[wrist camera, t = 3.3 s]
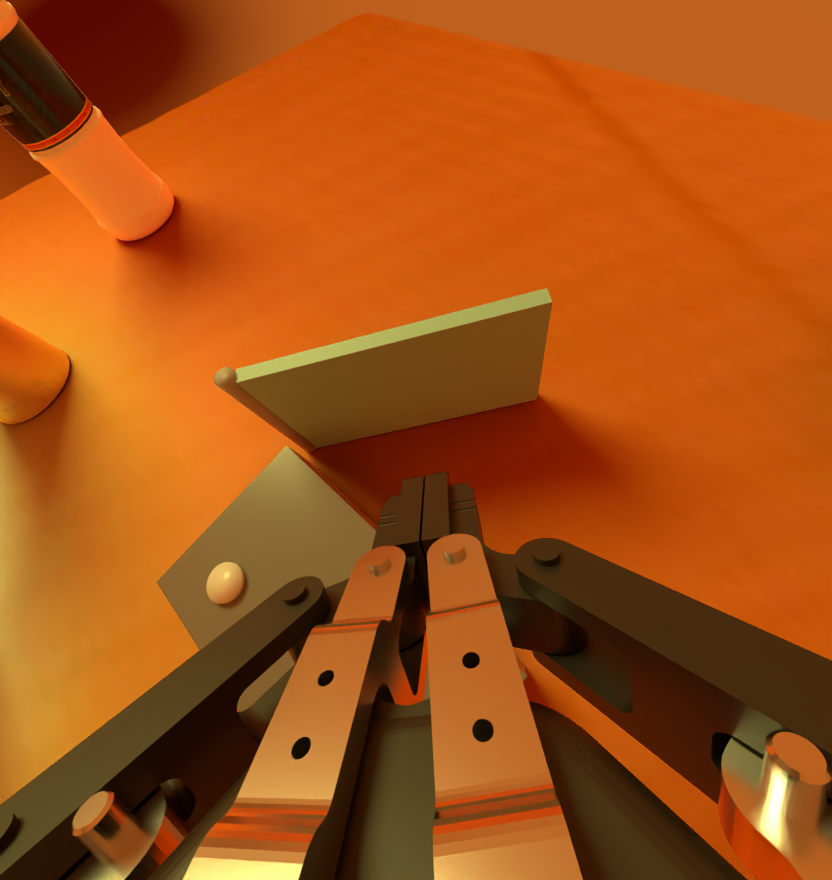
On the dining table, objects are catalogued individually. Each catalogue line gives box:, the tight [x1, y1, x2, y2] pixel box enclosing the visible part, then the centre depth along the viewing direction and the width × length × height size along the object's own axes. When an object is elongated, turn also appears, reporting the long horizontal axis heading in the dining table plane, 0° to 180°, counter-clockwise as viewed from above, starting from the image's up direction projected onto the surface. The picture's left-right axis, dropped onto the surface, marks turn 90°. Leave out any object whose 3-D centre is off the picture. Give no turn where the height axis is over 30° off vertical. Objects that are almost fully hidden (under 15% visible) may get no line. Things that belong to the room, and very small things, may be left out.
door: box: [214, 288, 552, 452], centre depth 24 cm, size 18×1×10 cm, turn 98°
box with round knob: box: [157, 446, 527, 712], centre depth 23 cm, size 22×12×4 cm, turn 48°
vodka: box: [0, 0, 174, 241], centre depth 35 cm, size 9×9×30 cm
